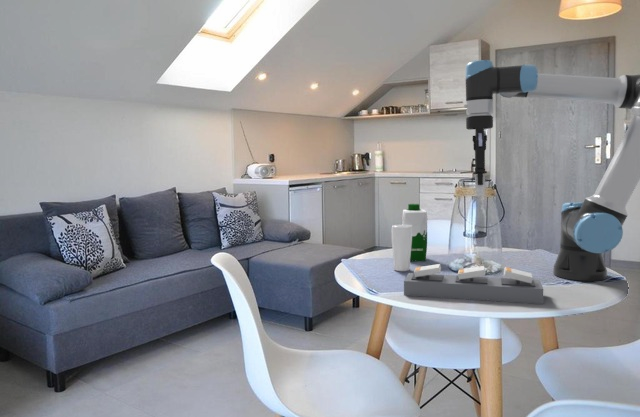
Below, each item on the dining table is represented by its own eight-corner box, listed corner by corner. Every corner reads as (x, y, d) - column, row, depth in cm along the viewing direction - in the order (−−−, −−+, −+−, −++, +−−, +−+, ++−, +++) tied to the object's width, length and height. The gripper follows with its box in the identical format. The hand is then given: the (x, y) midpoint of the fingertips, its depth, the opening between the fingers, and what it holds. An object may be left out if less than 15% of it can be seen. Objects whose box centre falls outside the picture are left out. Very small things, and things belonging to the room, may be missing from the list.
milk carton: (424, 256, 200) (424, 203, 198) (428, 261, 191) (429, 206, 189) (401, 256, 200) (401, 203, 198) (403, 262, 192) (404, 206, 189)
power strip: (539, 293, 148) (539, 276, 148) (542, 304, 139) (543, 285, 138) (408, 286, 159) (408, 269, 158) (403, 295, 149) (403, 277, 149)
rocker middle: (485, 271, 149) (483, 265, 149) (485, 275, 145) (483, 269, 145) (459, 275, 152) (458, 269, 152) (459, 279, 147) (457, 273, 147)
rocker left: (441, 269, 153) (440, 263, 153) (439, 273, 148) (438, 267, 148) (417, 272, 155) (415, 267, 155) (415, 277, 150) (413, 271, 150)
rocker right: (529, 278, 146) (531, 272, 146) (531, 283, 142) (533, 277, 141) (503, 272, 148) (505, 266, 148) (504, 276, 143) (505, 270, 143)
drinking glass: (387, 270, 180) (387, 225, 178) (400, 266, 184) (400, 223, 182) (402, 273, 175) (402, 228, 173) (416, 270, 179) (416, 225, 177)
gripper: (465, 117, 164) (466, 194, 166) (466, 115, 151) (467, 198, 154) (491, 115, 162) (492, 193, 164) (494, 113, 149) (494, 197, 152)
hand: (480, 195), depth 159 cm, fingers closed
